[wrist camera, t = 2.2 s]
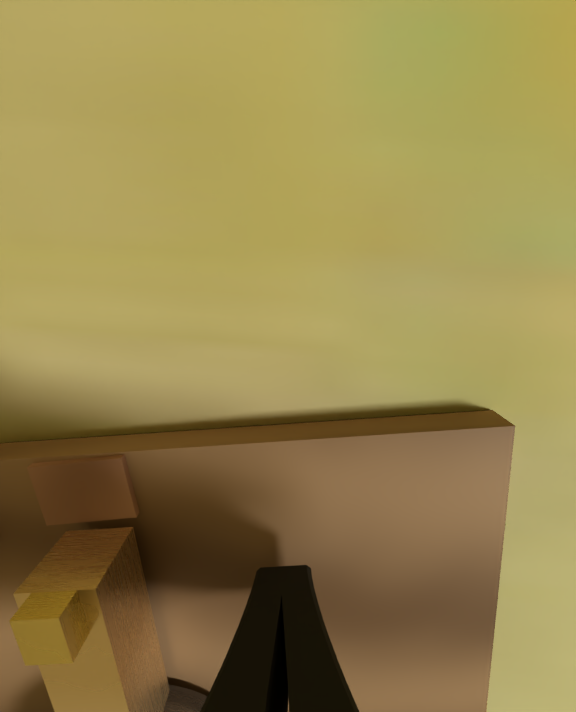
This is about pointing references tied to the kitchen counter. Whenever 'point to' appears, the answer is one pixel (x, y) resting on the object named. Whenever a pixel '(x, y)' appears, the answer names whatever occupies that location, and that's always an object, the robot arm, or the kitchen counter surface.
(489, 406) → the kitchen counter surface
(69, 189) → the kitchen counter surface
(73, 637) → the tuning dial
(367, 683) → the brown flat square slab
